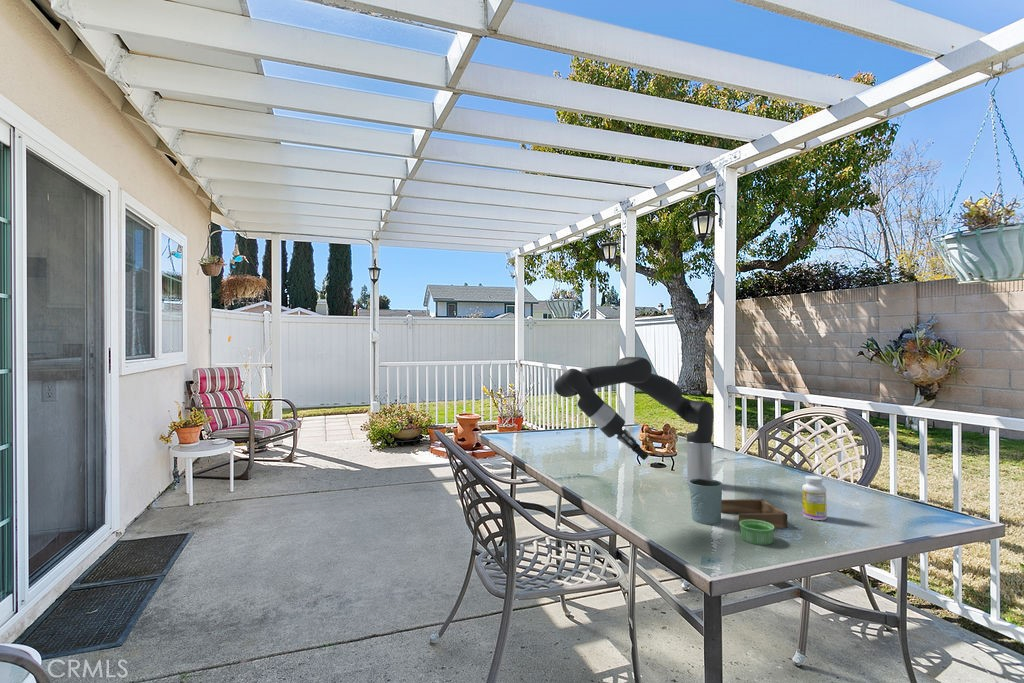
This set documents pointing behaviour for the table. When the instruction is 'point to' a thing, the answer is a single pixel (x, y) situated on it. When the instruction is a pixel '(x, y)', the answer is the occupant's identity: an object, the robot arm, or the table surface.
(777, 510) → the brown piece
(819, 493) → the supplement bottle
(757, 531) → the ramekin
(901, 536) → the table surface
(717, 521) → the blue-grey plant pot
